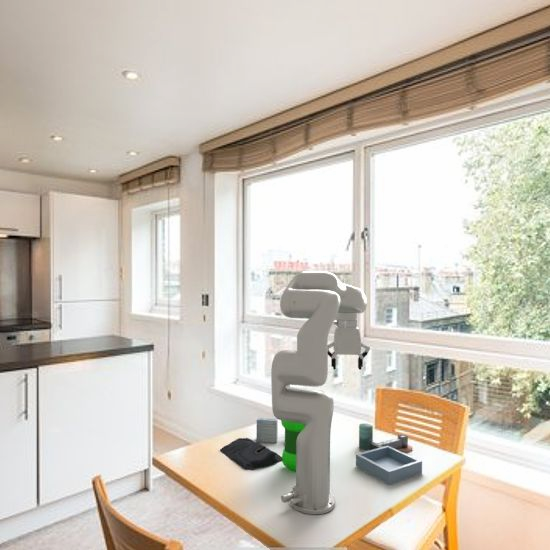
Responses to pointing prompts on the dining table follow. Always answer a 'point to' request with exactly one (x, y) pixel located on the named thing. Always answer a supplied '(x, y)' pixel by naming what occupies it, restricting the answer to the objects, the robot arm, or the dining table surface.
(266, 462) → the dark slate chunk
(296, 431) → the plastic bottle
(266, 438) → the medicine box
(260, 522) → the dining table surface
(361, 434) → the teal cylinder
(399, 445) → the crank lever
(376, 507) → the dining table surface
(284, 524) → the dining table surface
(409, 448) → the crank base
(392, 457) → the tray
